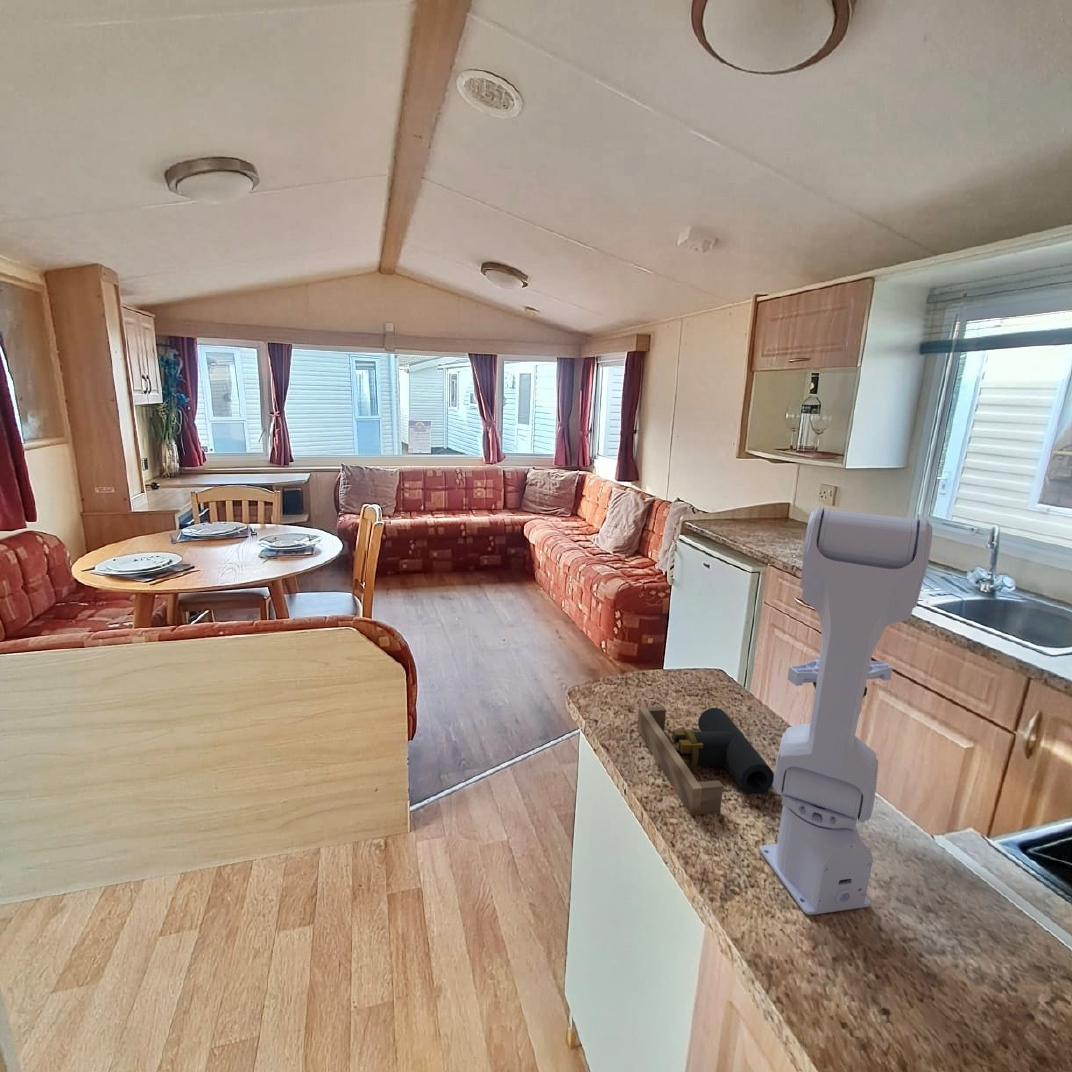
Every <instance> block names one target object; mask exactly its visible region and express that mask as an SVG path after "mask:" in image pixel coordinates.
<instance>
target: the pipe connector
mask: <svg viewBox="0 0 1072 1072" xmlns="http://www.w3.org/2000/svg"><path fill="white" fill-rule="evenodd" d="M697 725H698V728H699V730H697V731H695V730H694V729H672V733H671V734H672V735H671V736H672V737H671V739H672V740H673V742H674V744H675V743H676V744H678V745H676V744H675V745H673V744H672V745H673V747H674V748H675V750H676V751H677V753H678V754H679V755H680V757H681V758H682V760H683V761H684V763H685V764H686V766H687V767H688V768H689V770H701V768H704V767H705V768H706V767H707V768H712V767H725V768H726V769H727V771H728V772H729V774H730V775H731V777H732V778H733V779H734V781H735V782H736V784H737V785H738V787H739V788H740V790H742V792H743V793H744V794H746V795H762V794H763V795H764V794H765V793H766V792H767V791H769V790H770V789H771V787H773V779H774V771H773V769H771V767H770V766H769V765H768V763H767V762H766V761H765V760H764V758H763V757H762V756H761V755H760V754H759V752H758V751H757V749H755V748H754V746H753V744H751V743H750V742H749V740H748V739H747V738H746V736H745V735H744V734H743V733H742V732H741V730H740V728H738V726H737V725H736V724H735V723H734V722H733V721H732V719H731V718H730V717H729V716H728V714H727V713H726V712H725V711H724V710H723V709H721V708H718V707H711V708H708V709H706V710H704V711H703V712H702V713H701V714H700V716H699V718H698V721H697Z"/></svg>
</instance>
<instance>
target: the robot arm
mask: <svg viewBox="0 0 1072 1072" xmlns="http://www.w3.org/2000/svg"><path fill="white" fill-rule="evenodd" d="M932 542H933V526H932V524H931V523H930V522H929V521H928V519H927V518H925V517H918V519H916V518H910V517H900V516H892V515H883V514H875V513H865V512H856V511H847V510H839V509H838V510H837V509H827V508H826V509H825V507H824V506H817V507H816V508H815V509H814V510H812V511H811V512H810V515H809V517H808V521H807V527H806V530H805V537H804V544H803V552H802V566H801V567H802V568H801V575H800V584H799V586H800V589H802V592H801V600H802V601H804V602H805V603H807V604H808V605H809V606H810V607H811V608H813V609H814V610H815V611H816V612H817V613H818V617H819V625H820V634H821V644H820V651H819V654H818V655H817V656H816V659H815V660H811V661H809V662H804V663H802V664H799V665H790V666H789V667H788V673H787V680H788V681H789V682H790V683H791V684H793V685H795V687H800V686H804V685H803V684H807V683H809V684H810V683H812V685H813V687H814V689H815V691H814V698H813V703H812V710H811V711H812V712H811V718H810V722H809V723H804V724H803V723H802V724H799V725H794V726H790V727H787V728H786V730H785V732H783V733H782V737H781V741H780V745H779V748H778V753H777V755H776V761H775V762H776V763H775V768H774V771H773V774H774V779H773V784H772V787H773V789H774V790H775V793H776V794H777V795H781V796H782V798H781V805H782V810H781V817H780V822H779V829H778V835H777V840H776V841H777V842H776V843H774V844H764V845H760V846H759V848H758V849H759V852H760V854H761V855H762V856H763V857H764V859H765V860H766V861H767V863H768V865H769V866H770V867H771V869H772V871H774V873H775V874H776V876H777V877H778V878H779V880H780V881H781V882H782V884H783V886H785V889H787V891H788V893H790V895H791V896H792V898H793V899H794V900H795V902H796V903H797V904H798V906H799V907H800V909H801V910H802V911H803V913H805V914H806V915H807V916H808V915H809V916H810V915H811V916H812V915H820V914H825V913H832V912H840V911H841V912H842V911H848V910H854V909H863V908H868V907H870V906H871V900H870V899H869V898H868V897H867V891H868V886H869V882H870V876H871V872H872V866H873V855H872V852H871V850H870V849H869V847H868V846H867V845H866V842H864V840H863V839H862V837H861V835H860V833H859V830H858V827H857V821H858V823H862V824H865V822H867V821H869V820H871V818H872V814H873V810H874V803H875V798H876V797H875V796H876V793H877V792H876V790H877V783H878V782H877V781H878V773H879V772H878V771H879V760H878V759H877V753H876V752H875V751H874V750H873V749H872V748H871V747H869V746H868V745H867V744H866V743H865V742H863V741H862V740H861V739H860V738H858V737H857V736H856V732H857V729H858V723H859V718H860V714H861V710H862V704H863V700H864V697H866V696H867V694H868V688H867V682H868V681H867V680H874V679H875V680H877V679H881V680H882V681H891V679H892V674H893V670H894V669H893V668H894V667H892V666H891V665H889V664H887V663H885V662H884V661H874V660H873V661H872V657H873V653H874V650H875V648H876V646H877V645H878V643H879V641H880V639H881V637H882V635H883V633H884V632H885V630H886V628H887V627H888V626H890V625H893V624H897V623H900V622H903V621H906V620H911V617H912V614H913V609H915V608H917V606H918V603H919V598H920V594H921V591H922V587H923V586H922V585H923V583H924V579H925V576H926V573H927V569H928V564H929V559H930V556H931V555H930V554H931V547H932Z"/></svg>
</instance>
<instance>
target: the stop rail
mask: <svg viewBox="0 0 1072 1072" xmlns="http://www.w3.org/2000/svg"><path fill="white" fill-rule="evenodd" d="M666 713H667V709H666V708H665V706H663V705H661V706H659V705H658V706H645V707H639V708H638V716H637V728H636V729H637V731H638V733H639V734H641V735H640V736H641V738H642V739H643V741H644V742H645V745H646V746H647V747H648V749H649V751H650V752H651V753H652V756H653V757H654V759H655V761H656V762H657V763H658V766H659V767H660V768H661V770H662V771H663V773H664V774H665V776H666V778H667V779H668V782H669V783H670V784H671V786H672V788H673V789H674V791H675V792H676V794H677V796H678V797H679V799H680V800H681V802H682V804H683V806H684V807H685V809H686V810H687V812H688V813H689V815H690V816H697V815H699V816H700V815H707V814H714V813H715V814H718V813H721V808H722V807H721V806H722V801H723V800H722V799H723V794H724V792H723V791H724V784H722V783H721V781H720V780H708V781H707V780H706V781H698V780H697V779H696V777H695V776H694V774H693V773H692V770H691V769H689V768H688V767H687V766H686V764H685V763H684V761H683V760H682V758H681V757H680V755H679V754H678V753H677V751H676V750H675V748H674V747H673V744H672V743H671V740H670V739H669V738H668V736H667V735H666V734H665V724H666Z"/></svg>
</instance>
